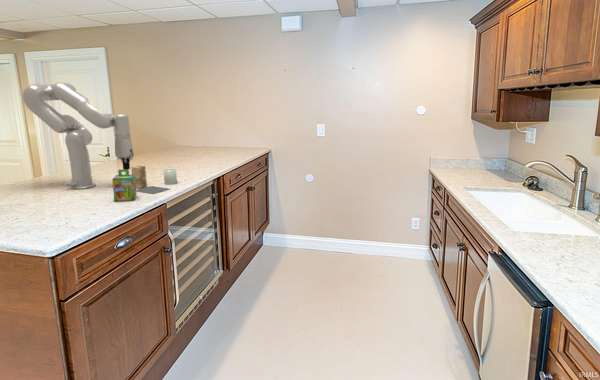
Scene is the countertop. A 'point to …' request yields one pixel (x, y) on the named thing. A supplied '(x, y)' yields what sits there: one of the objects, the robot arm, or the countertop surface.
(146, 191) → the mat
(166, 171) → the white small cylinder
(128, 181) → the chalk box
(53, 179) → the countertop surface
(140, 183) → the block
